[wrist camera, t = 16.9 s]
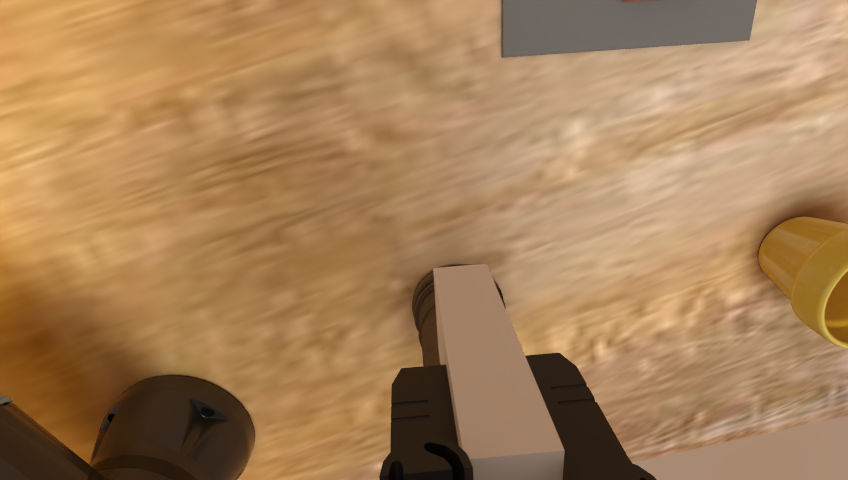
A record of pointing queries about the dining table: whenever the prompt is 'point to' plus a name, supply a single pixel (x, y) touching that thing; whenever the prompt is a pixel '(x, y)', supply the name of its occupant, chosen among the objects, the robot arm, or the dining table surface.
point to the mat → (620, 24)
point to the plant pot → (811, 272)
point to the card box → (633, 0)
